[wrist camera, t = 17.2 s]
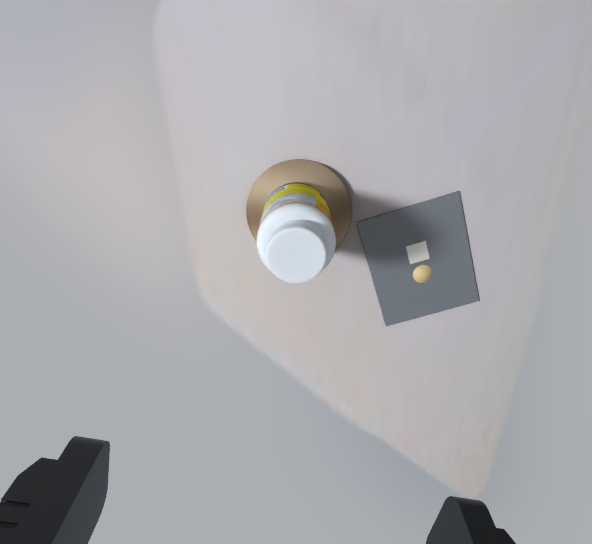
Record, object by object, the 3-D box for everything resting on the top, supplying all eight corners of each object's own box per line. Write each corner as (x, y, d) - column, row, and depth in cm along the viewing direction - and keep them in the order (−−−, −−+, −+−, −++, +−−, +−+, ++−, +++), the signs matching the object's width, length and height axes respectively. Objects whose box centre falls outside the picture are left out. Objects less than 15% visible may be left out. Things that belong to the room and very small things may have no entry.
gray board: (356, 221, 39) (356, 223, 39) (457, 190, 38) (459, 191, 38) (385, 324, 44) (386, 326, 43) (477, 298, 42) (479, 300, 42)
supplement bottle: (322, 247, 39) (330, 301, 30) (260, 237, 39) (248, 289, 30) (335, 185, 37) (347, 222, 28) (268, 174, 37) (258, 208, 28)
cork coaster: (231, 178, 38) (230, 180, 37) (334, 144, 36) (334, 145, 36) (267, 271, 41) (267, 274, 41) (362, 243, 40) (363, 245, 39)
